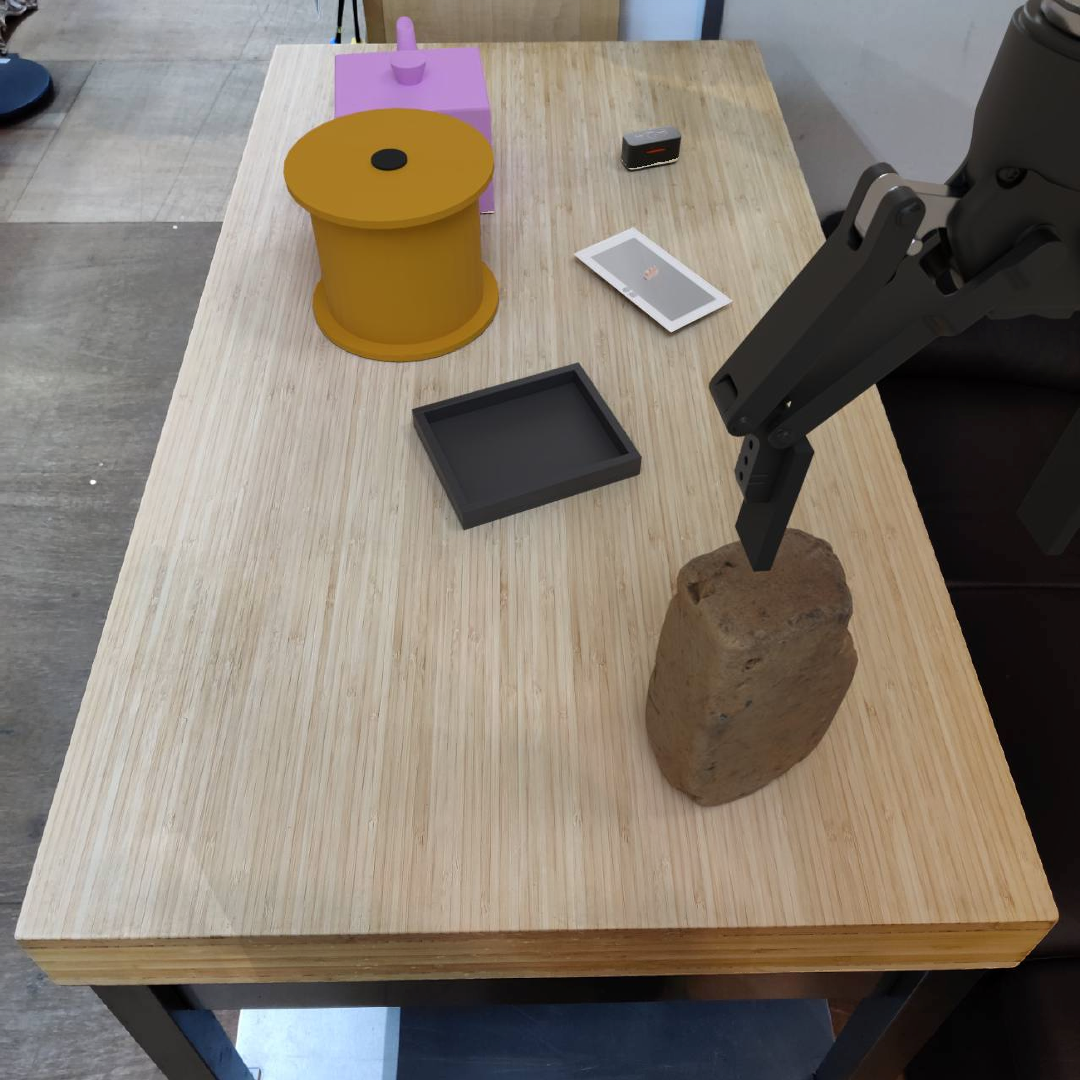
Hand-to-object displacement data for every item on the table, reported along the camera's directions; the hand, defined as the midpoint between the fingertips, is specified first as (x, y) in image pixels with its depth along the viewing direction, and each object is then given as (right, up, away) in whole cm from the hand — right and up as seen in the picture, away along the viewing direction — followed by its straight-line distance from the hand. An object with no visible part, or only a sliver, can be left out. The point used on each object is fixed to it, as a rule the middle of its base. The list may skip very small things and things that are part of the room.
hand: (898, 541), depth 43 cm
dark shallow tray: (-17, +8, +40) cm, 44 cm away
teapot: (-29, +40, +66) cm, 83 cm away
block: (-3, -14, +23) cm, 27 cm away
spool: (-29, +23, +53) cm, 64 cm away
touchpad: (-5, +25, +54) cm, 60 cm away
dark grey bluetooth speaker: (-3, +44, +69) cm, 82 cm away
